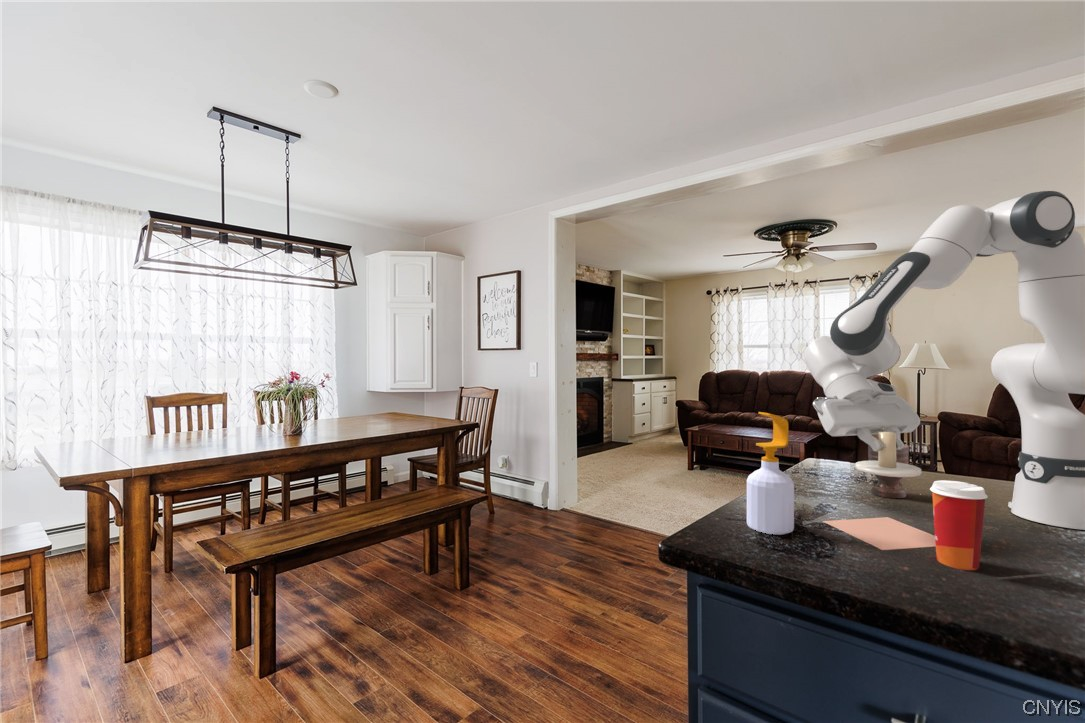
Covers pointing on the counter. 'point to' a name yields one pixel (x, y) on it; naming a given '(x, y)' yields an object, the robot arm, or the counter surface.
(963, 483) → the paper cup
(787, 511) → the soap bottle
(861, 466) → the lid
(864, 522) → the mat
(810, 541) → the counter surface
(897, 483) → the mortar and pestle
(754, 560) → the counter surface
